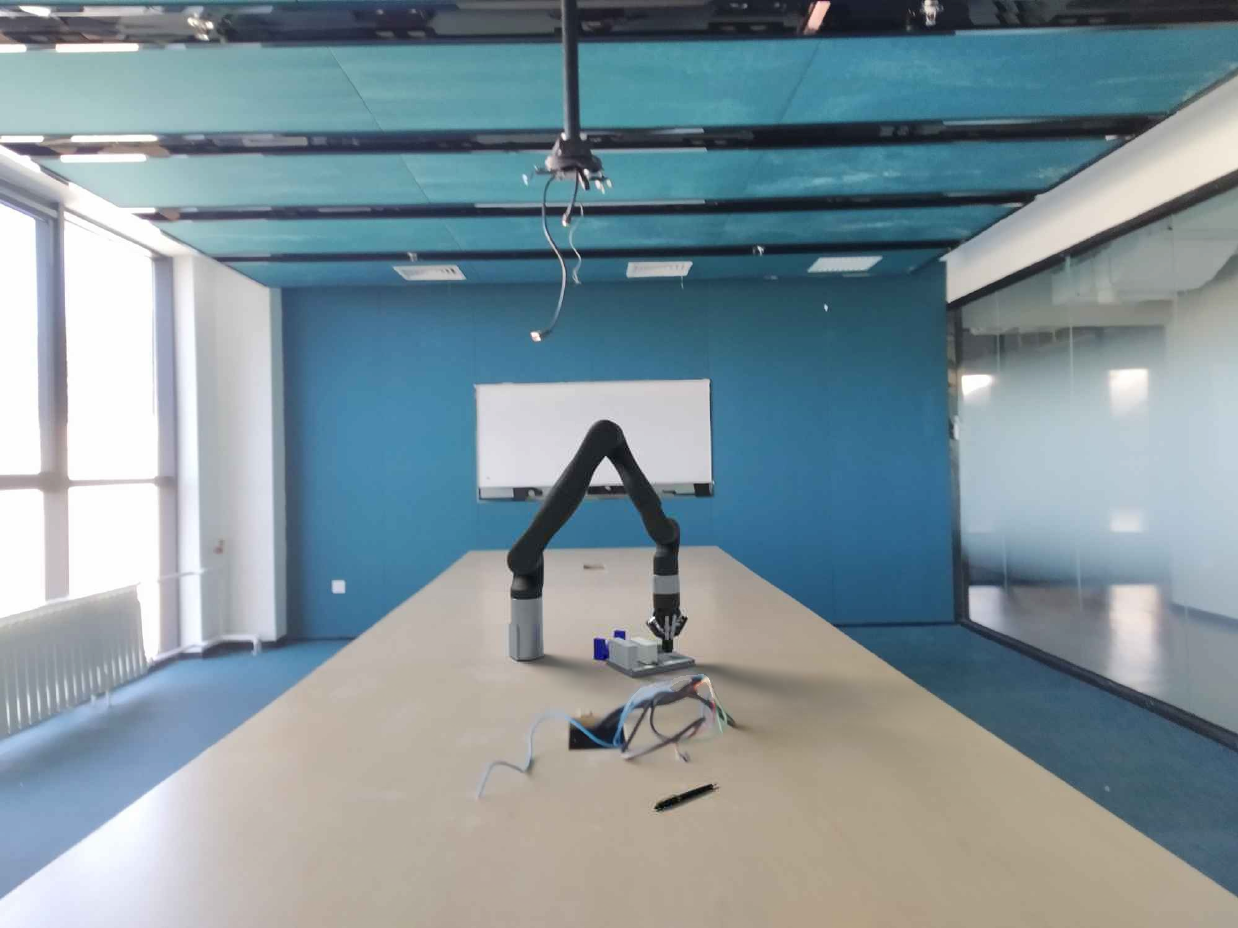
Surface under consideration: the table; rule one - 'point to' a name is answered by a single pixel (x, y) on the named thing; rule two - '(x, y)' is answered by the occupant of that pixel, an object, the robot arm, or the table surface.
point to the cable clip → (605, 645)
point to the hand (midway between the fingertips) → (667, 652)
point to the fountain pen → (682, 796)
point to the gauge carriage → (645, 650)
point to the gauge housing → (627, 662)
